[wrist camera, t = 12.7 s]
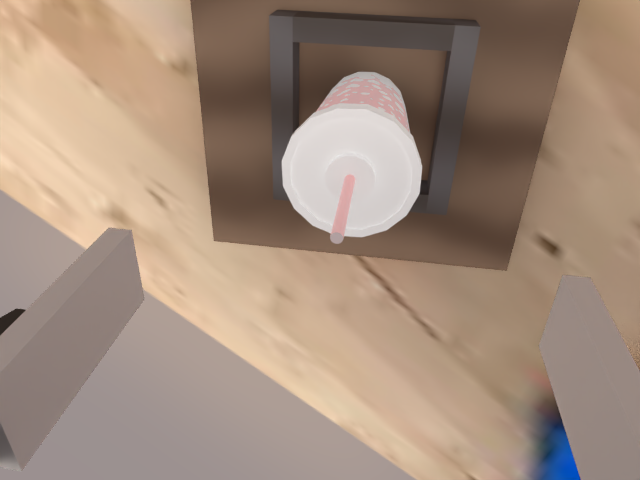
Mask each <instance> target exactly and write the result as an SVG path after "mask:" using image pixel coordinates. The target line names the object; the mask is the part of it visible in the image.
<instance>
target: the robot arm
mask: <svg viewBox="0 0 640 480" xmlns="http://www.w3.org/2000/svg"><path fill="white" fill-rule="evenodd" d="M143 300H144V294H143V289H142V283H141V278H140V273H139V267H138V262H137V256H136V251H135V246H134V240H133V235H132V230H126V229H116V228H108V229H107V230H106V231H105V232H104V233H103V234H102V235H101V236H100V237H99V238H98V239H97V240H96V241H95V242H94V243H93V244H92V245H91V246H90V247H89V248H88V249H87V250H86V251H85V252H84V253H83V254H82V255H81V256H80V257H79V258H78V259H77V260H76V261H75V262H74V263H73V264H72V265H71V266H70V267H69V268H68V269H67V270H66V271H65V272H64V273H63V274H62V275H61V276H60V277H59V278H58V279H57V280H56V281H55V282H54V283H53V284H52V285H51V286H50V287H49V288H48V289H47V290H46V291H45V292H44V293H43V294H42V295H41V296H40V297H39V298H38V299H37V300H36V301H35V302H34V303H33V304H32V305H31V306H30V307H29V308H28V309H27V310H23V309H15V310H13V311H11V312H10V313H8V314H6V315H4V316H3V317H1V318H0V468H6V469H13V470H18V471H22V470H23V469H24V467H25V466H26V464H27V463H28V462H29V460H30V459H31V457H32V456H33V455H34V453H35V452H36V450H37V449H38V448H39V446H40V445H41V443H42V442H43V440H44V439H45V438H46V436H47V435H48V434H49V432H50V431H51V429H52V428H53V427H54V425H55V424H56V422H57V421H58V419H59V418H60V417H61V415H62V414H63V413H64V411H65V410H66V408H67V407H68V406H69V404H70V403H71V401H72V400H73V399H74V397H75V396H76V394H77V393H78V392H79V390H80V389H81V387H82V386H83V385H84V383H85V382H86V380H87V379H88V378H89V376H90V375H91V373H92V372H93V371H94V369H95V368H96V366H97V365H98V363H99V362H100V361H101V359H102V358H103V357H104V355H105V354H106V352H107V351H108V350H109V348H110V347H111V345H112V344H113V343H114V341H115V340H116V338H117V337H118V336H119V334H120V333H121V331H122V330H123V329H124V327H125V326H126V324H127V323H128V321H129V320H130V319H131V317H132V316H133V314H134V313H135V312H136V310H137V309H138V308H139V306H140V305H141V303H142V302H143ZM539 348H540V351H541V355H542V358H543V361H544V364H545V367H546V370H547V374H548V377H549V380H550V383H551V386H552V390H553V393H554V396H555V399H556V402H557V405H558V409H559V412H560V415H561V418H562V421H563V424H564V428H565V431H566V434H567V437H568V440H569V443H570V447H571V450H572V453H573V456H574V459H575V462H576V466H577V469H578V472H579V475H580V478H581V480H640V371H639V369H638V367H637V365H636V363H635V361H634V359H633V357H632V356H631V354H630V352H629V350H628V348H627V346H626V344H625V342H624V340H623V338H622V337H621V335H620V333H619V331H618V329H617V327H616V325H615V323H614V321H613V319H612V318H611V316H610V314H609V312H608V310H607V308H606V306H605V304H604V302H603V300H602V299H601V297H600V295H599V293H598V291H597V289H596V287H595V285H594V283H593V281H592V280H591V278H589V277H579V276H570V275H563V276H562V279H561V282H560V284H559V287H558V290H557V293H556V296H555V299H554V302H553V305H552V308H551V311H550V314H549V317H548V320H547V323H546V326H545V329H544V332H543V335H542V338H541V341H540V344H539Z"/></svg>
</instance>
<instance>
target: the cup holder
mask: <svg viewBox="0 0 640 480" xmlns="http://www.w3.org/2000/svg"><path fill="white" fill-rule="evenodd" d="M579 2H580V0H191V10H192V20H193V30H194V41H195V51H196V61H197V72H198V82H199V92H200V102H201V113H202V123H203V133H204V144H205V154H206V164H207V174H208V185H209V195H210V205H211V216H212V226H213V236H214V241H220V242H230V243H239V244H249V245H259V246H269V247H279V248H289V249H298V250H308V251H318V252H328V253H338V254H348V255H357V256H367V257H377V258H387V259H397V260H407V261H416V262H426V263H436V264H446V265H456V266H466V267H475V268H485V269H495V270H505V271H507V267H508V263H509V260H510V256H511V252H512V249H513V245H514V241H515V238H516V234H517V230H518V227H519V223H520V219H521V216H522V212H523V208H524V204H525V201H526V197H527V193H528V190H529V186H530V182H531V179H532V175H533V171H534V168H535V164H536V160H537V157H538V153H539V149H540V145H541V142H542V138H543V134H544V131H545V127H546V123H547V120H548V116H549V112H550V109H551V105H552V101H553V98H554V94H555V90H556V86H557V83H558V79H559V75H560V72H561V68H562V64H563V61H564V57H565V53H566V50H567V46H568V42H569V39H570V35H571V31H572V27H573V24H574V20H575V16H576V13H577V9H578V5H579ZM357 72H375V73H378V74H380V75H382V76H384V77H386V78H389V79H390V80H391V81H392V82H393V83H394V85H395V86H396V87H397V88H398V89H399V90H400V92H401V95H402V98H403V101H404V104H405V108H406V113H407V118H408V124H409V129H410V134H411V135H412V136H413V138H414V141H415V144H416V147H417V150H418V153H419V156H420V159H421V164H422V175H421V185H420V194H419V195H418V197H417V199H416V201H415V202H414V204H413V206H412V207H411V209H410V211H409V212H408V214H407V216H405V217H404V218H403V219H401V220H400V221H399V222H397V223H396V224H395V225H393V226H392V227H390V228H389V229H388V230H386V231H383V232H379V233H376V234H372V235H369V236H365V237H349V236H344V238H343V241H342V242H341V243H339V244H335V243H333V242H332V241H331V240H330V235H331V233H329V232H326V231H324V230H322V229H319V228H317V227H315V226H312V225H311V224H310V223H309V222H308V221H307V220H306V219H305V218H304V217H303V216H302V215H301V214H299V213H298V212H297V211H296V210H295V209H294V208H293V206H292V203H291V201H290V199H289V197H288V195H287V193H286V191H285V189H284V187H283V178H282V159H283V156H284V154H285V151H286V148H287V146H288V143H289V141H290V138H291V136H292V135H293V134H294V132H295V131H296V130H297V129H298V128H299V127H300V126H301V125H302V124H303V123H304V122H305V121H306V120H307V119H308V118H309V117H310V116H311V115H312V114H313V113H315V112H316V111H317V109H318V108H319V107H320V105H321V104H322V102H323V101H324V100H325V98H326V97H327V95H328V94H329V93H330V91H331V90H332V88H334V87H335V86H336V85H337V84H338V83H339V82H340V81H341V80H342V79H343V78H344V77H346V76H349V75H352V74H354V73H357Z"/></svg>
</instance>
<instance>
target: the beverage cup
mask: <svg viewBox="0 0 640 480" xmlns="http://www.w3.org/2000/svg"><path fill="white" fill-rule="evenodd" d="M421 175H422V164H421V159H420V156H419V153H418V150H417V147H416V144H415V141H414V138H413V136H412V135H411V134H410V129H409V124H408V118H407V113H406V108H405V104H404V101H403V98H402V95H401V92H400V90H399V89H398V88H397V87H396V86H395V85H394V83H393V82H392V81H391V80H390V79H389V78H386V77H384V76H382V75H380V74H378V73H375V72H357V73H354V74H352V75H349V76H346V77H344V78H343V79H342V80H341V81H340V82H339V83H338V84H337V85H336V86H335V87H334V88H332V90H331V91H330V93H329V94H328V95H327V97H326V98H325V100H324V101H323V102H322V104H321V105H320V107H319V108H318V109H317V111H316V112H315V113H313V114H312V115H311V116H310V117H309V118H308V119H307V120H306V121H305V122H304V123H303V124H302V125H301V126H300V127H299V128H298V129H297V130H296V131H295V132H294V134H293V135H292V136H291V138H290V141H289V143H288V146H287V148H286V151H285V154H284V156H283V159H282V178H283V187H284V189H285V191H286V193H287V195H288V197H289V199H290V201H291V203H292V206H293V208H294V209H295V210H296V211H297V212H298V213H299V214H301V215H302V216H303V217H304V218H305V219H306V220H307V221H308V222H309V223H310V224H311V225H312V226H315V227H317V228H319V229H322V230H324V231H326V232H329V233H331V235H330V240H331V241H332V242H333V243H335V244H339V243H341V242H342V241H343V238H344V236H349V237H365V236H369V235H372V234H376V233H379V232H383V231H386V230H388V229H389V228H390V227H392V226H393V225H395V224H396V223H397V222H399V221H400V220H401V219H403V218H404V217H405V216H407V214H408V212H409V211H410V209H411V207H412V206H413V204H414V202H415V201H416V199H417V197H418V195H419V194H420V185H421Z"/></svg>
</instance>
